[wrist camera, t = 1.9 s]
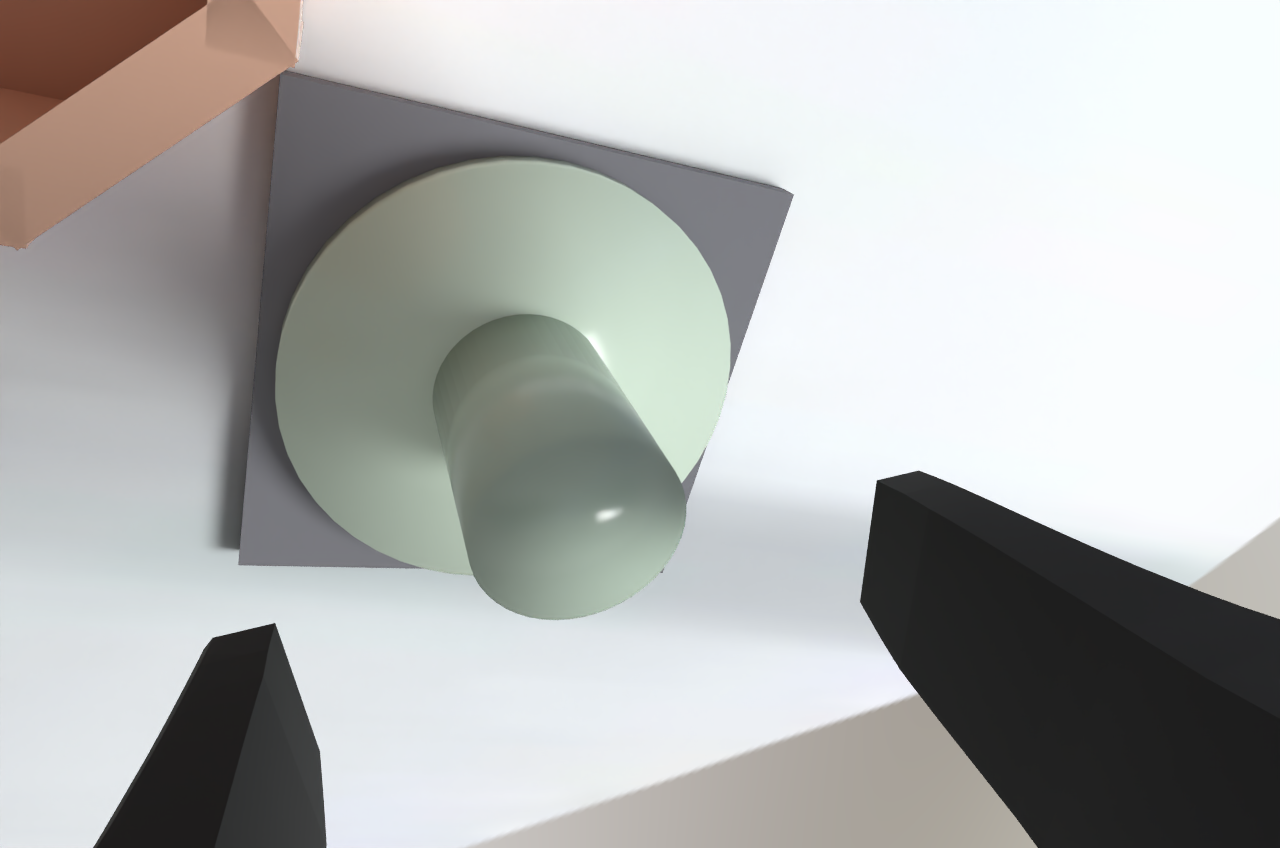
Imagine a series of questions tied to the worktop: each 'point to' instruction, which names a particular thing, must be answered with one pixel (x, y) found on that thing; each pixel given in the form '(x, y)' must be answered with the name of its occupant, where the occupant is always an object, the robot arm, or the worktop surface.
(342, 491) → the lid
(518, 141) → the mat
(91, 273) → the worktop surface
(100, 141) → the bowl
